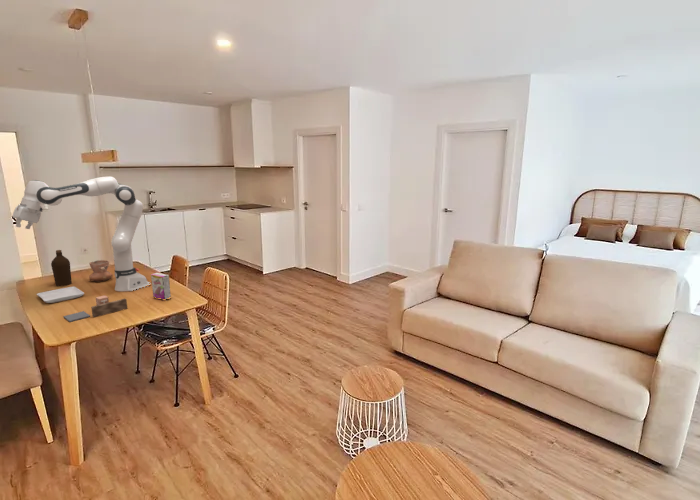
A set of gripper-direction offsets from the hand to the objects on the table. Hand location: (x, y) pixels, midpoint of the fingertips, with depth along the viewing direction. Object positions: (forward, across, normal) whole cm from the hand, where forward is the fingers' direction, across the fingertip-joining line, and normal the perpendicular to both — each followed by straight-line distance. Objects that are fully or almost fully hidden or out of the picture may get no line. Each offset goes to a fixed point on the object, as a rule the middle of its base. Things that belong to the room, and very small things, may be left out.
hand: (22, 228), depth 230 cm
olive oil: (+34, +47, -10) cm, 59 cm away
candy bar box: (+26, +7, -84) cm, 89 cm away
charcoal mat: (+43, -17, -48) cm, 66 cm away
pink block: (+38, -8, -57) cm, 69 cm away
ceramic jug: (+26, +54, -30) cm, 67 cm away
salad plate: (+39, +19, -22) cm, 49 cm away
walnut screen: (+38, -12, -63) cm, 74 cm away
